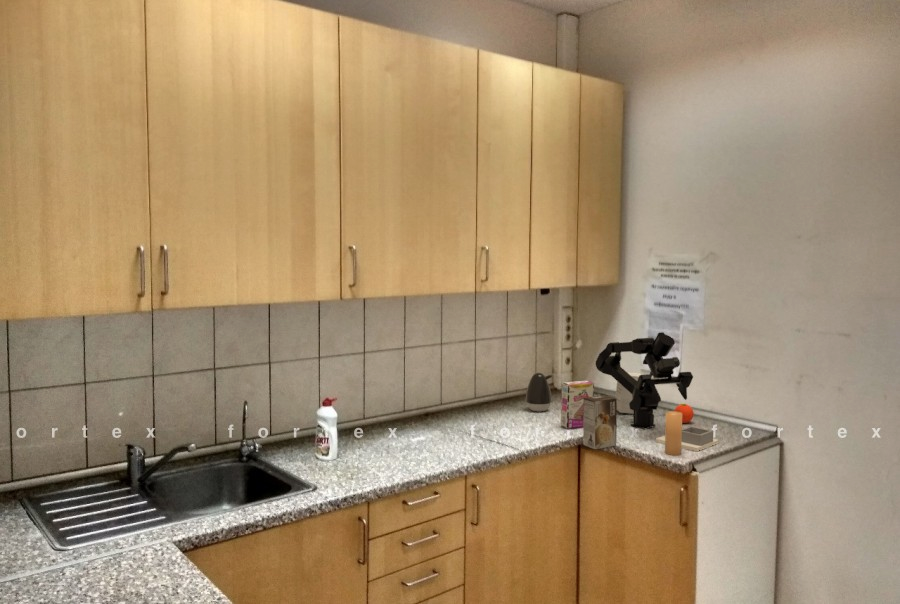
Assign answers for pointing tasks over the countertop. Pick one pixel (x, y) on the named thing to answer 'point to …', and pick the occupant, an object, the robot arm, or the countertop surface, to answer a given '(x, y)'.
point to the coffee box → (600, 421)
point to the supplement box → (625, 396)
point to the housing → (694, 438)
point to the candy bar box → (574, 403)
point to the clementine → (685, 412)
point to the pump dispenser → (538, 393)
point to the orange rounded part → (673, 433)
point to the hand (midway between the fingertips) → (673, 400)
